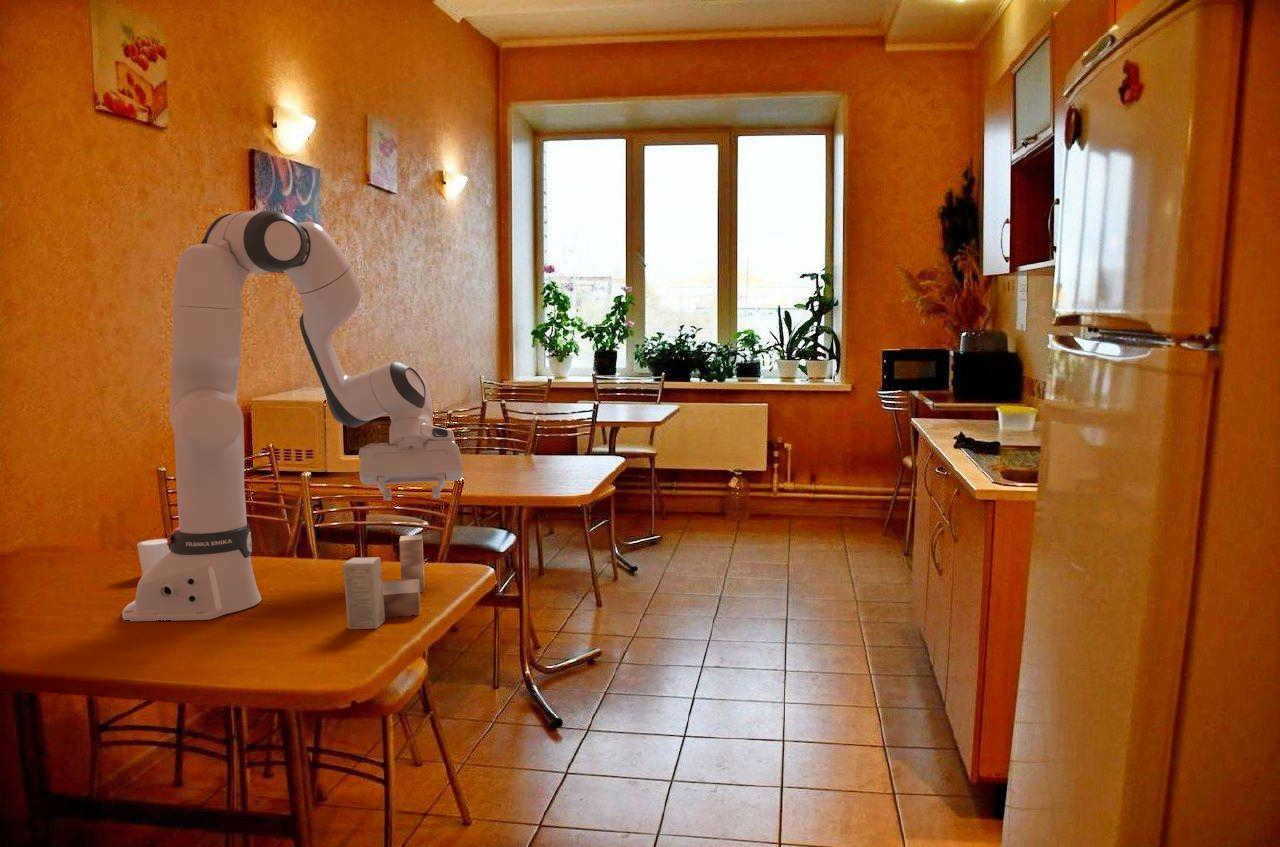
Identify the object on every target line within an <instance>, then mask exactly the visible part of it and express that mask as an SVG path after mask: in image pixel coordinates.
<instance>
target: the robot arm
mask: <svg viewBox="0 0 1280 847" xmlns="http://www.w3.org/2000/svg"><path fill="white" fill-rule="evenodd" d="M281 272H283V273H285V275H286V276H287V278H288V279H290V281H291V283H292V285H293V287H294V289H295V290H296V292H297V293H298V295H299V297H300V300H301V303H302V305H303V306H302V307H303V309H302V310H303V313H301V315H300V318H299V329H300V332H301V336H302V338H303V342H304V343H305V346H306V349H307V352H308V354H309V356H310V359H311V361H312V364H313V366H314V369H315V371H316V373H317V375H318V377H319V380H320V383H321V385H322V389H323V390H324V393H325V396H326V397H325V398H326V400H327V406H328V408H329V410H330V413H331V415H332V417H333V418H334V420H336V422H338V423H340V424H342V425H344V426H346V427H347V426H348V427H350V428H353V429H354V428H358V427H359V426H362V425H364V424H367V423H369V422H371V421H372V420H374V419H377V418H380V417H383V416H386V415H389V418H390V421H391V423H390V425H389V436H388V439H389V440H388V441H389V442H379V443H374V442H373V443H370V442H369V443H367V444H366V445H364V446H362V447H360V448H359V451H358V459H359V461H360V463H359V475H358V476H359V481H360V482H361V483H362V484H363V485H364V486H373V485H375V486H376V485H377V488H378V489H379V491H380V492H381V494H382V497H383V498H382V499H383V501H392V489H391V488H387V487H386V485H391V484H392V485H393V484H415V483H430V482H432V483H433V482H437V484H436V486H435V485H434V486H432V488H431V489H432V490H431V491H432V492H431V493H432V499H437V498H438V499H440V498H441V491H442V490H443V488H444V487H445V486H446V482H452V481H460V480H461V479H462V478H463V474H464V472H463V460H462V454H461V451H460V447H459V446H458V443H456V438H455V435H454V431H453V430H452V429H447V428H443V427H437V426H435V425H433V424H432V419H433V400H432V394H431V390H430V386H429V383H428V382H427V380H426V379H425V377H423V376H422V375H420V374H419V373H418V372H417V371H416V370H415V369H414V368H412V367H411V366H410V365H407V364H406V363H403V362H402V361H401V362H400V361H398V360H395V361H391V362H387V363H384V364H382V365H379V366H376V367H374V368H372V369H370V370H369V369H368V370H366V371H364V372H361V373H358V374H356V375H348V374H346V372H344V369H343V366H342V365H341V362H340V358H339V357H338V354H337V351H336V349H335V346H334V345H333V340H332V339H333V335H334V333H336V332H337V331H338V329H340V327H342V326H343V325H344V324H345V323H346V322H347V321H348V320H349V318H351V316H352V315H353V314H354V313H355V311H356V310H357V308H358V306H359V304H360V302H361V297H362V288H361V284H360V281H359V279H358V277H357V275H356V273H355V271H354V270H353V268H352V266H351V265H350V262H349V261H348V260H347V258H346V256H345V255H344V253H343V252H342V250H341V249H340V247H339V246H338V245H337V243H336V242H335V241H334V240H333V238H332V237H331V235H329V233H328V232H327V231H326V230H325V229H324V227H322V226H321V225H320V224H318V223H316V222H312V221H300V222H297V221H296V220H295V219H294V218H292V217H291V216H289V215H288V214H286V213H283V212H279V211H276V210H262V211H257V210H243V211H238V212H234V213H227V214H224V215H222V216H219V217H218V218H216V219H215V220H214V221H213V222H212V223H211V224H210V225H209V227H208V228H207V230H206V232H205V234H204V238H203V239H202V240H201V242H200V243H197V244H194V245H191V246H189V247H187V248H185V249H184V250H183V251H182V253H181V254H180V256H179V258H178V263H177V267H176V273H175V278H174V285H173V293H172V294H173V295H172V344H171V345H172V346H171V347H172V349H171V350H172V351H171V352H172V353H171V354H172V355H171V372H170V374H171V375H170V376H171V377H170V397H169V398H170V401H169V405H170V406H169V421H170V425H171V427H172V430H173V439H174V442H173V443H174V455H175V456H174V458H175V478H176V479H175V481H176V482H175V484H176V486H175V487H176V499H177V511H178V527H176V528H174V529H172V530H171V532H170V534H169V535H168V536H167V538H168V539H167V541H168V542H167V545H168V546H169V550H170V552H169V553H168V554H167V555H166V556H164V557H163V558H162V559H161V560H160V561H158V562H157V563H156V564H155V565H154V566H153V567H151V568H150V569H149V570H148V571H147V572H146V573H145V574H144V575H143V574H142V576H141V577H140V578H139V580H138V583H137V586H136V592H135V599H134V600H133V601H131V602H130V603H128V604H127V605H126V606H125V607H124V608H123V609H122V611H121V612H122V614H121V619H122V618H123V619H124V620H123V619H122V620H123V621H125V620H130V621H129V622H159V621H158V620H161V621H160V622H163V621H162V620H164V621H166V620H171V622H173V621H206V620H207V621H208V620H213V619H216V618H219V617H221V616H224V615H228V614H232V613H236V612H240V611H243V610H246V609H249V608H252V607H254V606H256V605H258V604H259V603H260V602H261V601H262V597H261V594H260V591H259V589H258V588H259V587H258V585H257V583H256V578H255V575H254V571H253V570H254V569H253V565H252V564H253V563H252V560H251V555H252V551H253V550H252V549H253V547H252V546H253V545H252V532H251V529H250V524H249V523H248V522H247V507H246V506H247V505H246V493H245V489H246V488H245V428H244V427H245V426H244V424H245V423H244V415H243V414H244V413H243V412H242V409H241V407H240V406H239V404H238V388H239V374H240V363H241V358H242V325H243V324H242V319H243V316H242V314H243V312H242V308H243V305H242V303H243V301H242V292H243V286H244V284H245V280H246V278H247V277H248V275H250V274H253V275H259V274H267V273H281ZM156 620H157V621H156ZM166 622H167V621H166Z"/></svg>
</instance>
